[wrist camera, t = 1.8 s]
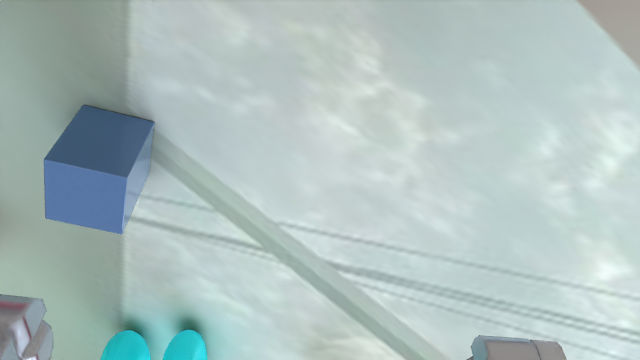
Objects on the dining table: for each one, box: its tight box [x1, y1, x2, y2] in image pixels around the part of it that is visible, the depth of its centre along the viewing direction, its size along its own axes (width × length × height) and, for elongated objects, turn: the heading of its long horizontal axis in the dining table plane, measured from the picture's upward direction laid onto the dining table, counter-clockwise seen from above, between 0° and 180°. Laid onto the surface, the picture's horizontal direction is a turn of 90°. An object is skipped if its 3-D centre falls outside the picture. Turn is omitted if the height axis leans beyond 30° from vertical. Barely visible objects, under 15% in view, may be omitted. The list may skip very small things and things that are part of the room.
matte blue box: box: [44, 105, 154, 234], centre depth 45 cm, size 6×6×8 cm
